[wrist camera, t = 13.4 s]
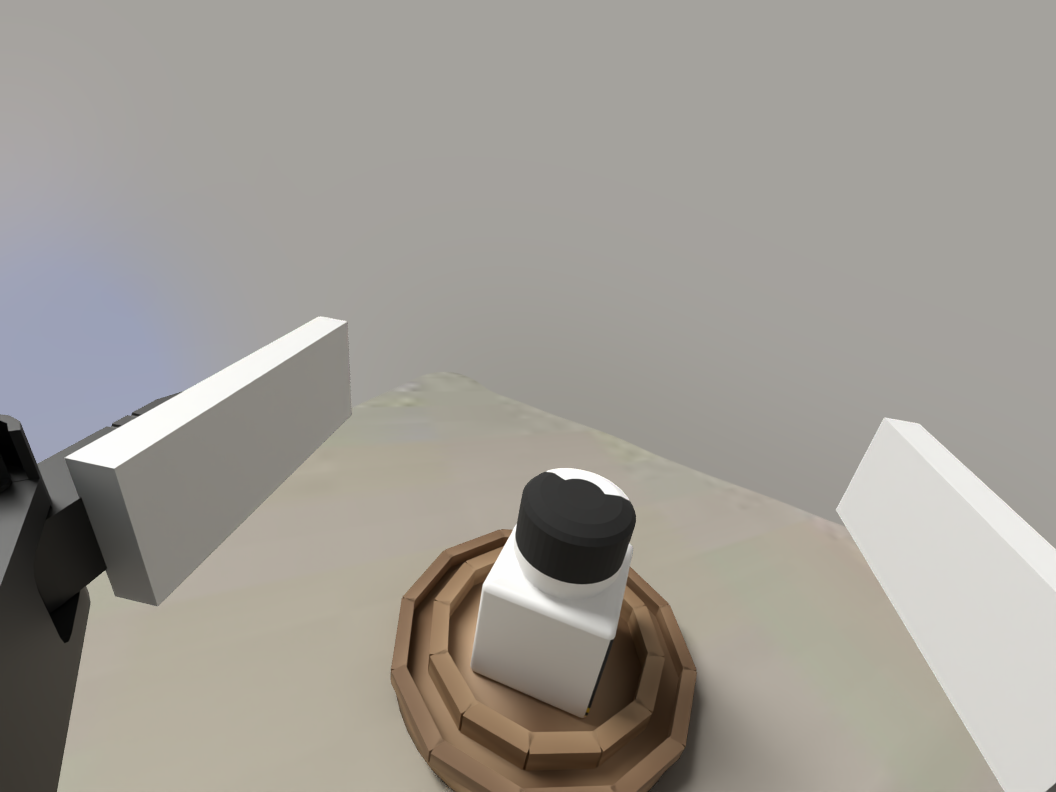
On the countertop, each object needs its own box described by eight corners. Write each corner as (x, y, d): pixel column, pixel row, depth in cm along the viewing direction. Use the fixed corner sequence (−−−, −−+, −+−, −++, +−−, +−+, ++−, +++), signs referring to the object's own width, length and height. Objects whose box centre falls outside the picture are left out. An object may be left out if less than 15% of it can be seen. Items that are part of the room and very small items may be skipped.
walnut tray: (635, 554, 41) (642, 531, 40) (736, 820, 25) (753, 794, 24) (411, 544, 38) (413, 519, 37) (368, 837, 22) (368, 809, 21)
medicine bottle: (585, 723, 27) (641, 564, 22) (467, 671, 29) (491, 511, 24) (609, 621, 34) (656, 478, 28) (510, 583, 35) (537, 440, 30)
